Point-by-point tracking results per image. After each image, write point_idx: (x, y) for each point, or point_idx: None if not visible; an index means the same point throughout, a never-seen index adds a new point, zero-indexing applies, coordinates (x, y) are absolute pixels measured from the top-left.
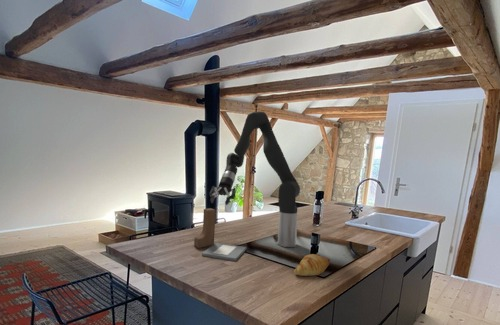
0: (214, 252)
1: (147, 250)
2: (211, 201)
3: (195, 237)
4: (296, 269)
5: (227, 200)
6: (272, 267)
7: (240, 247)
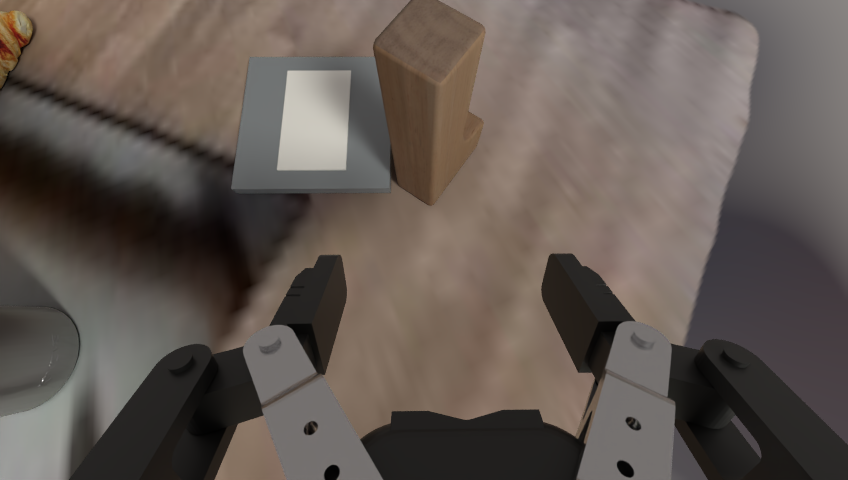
0: (346, 73)
1: (604, 38)
2: (554, 254)
3: (475, 116)
4: (7, 12)
5: (309, 290)
6: (114, 64)
7: (258, 173)
